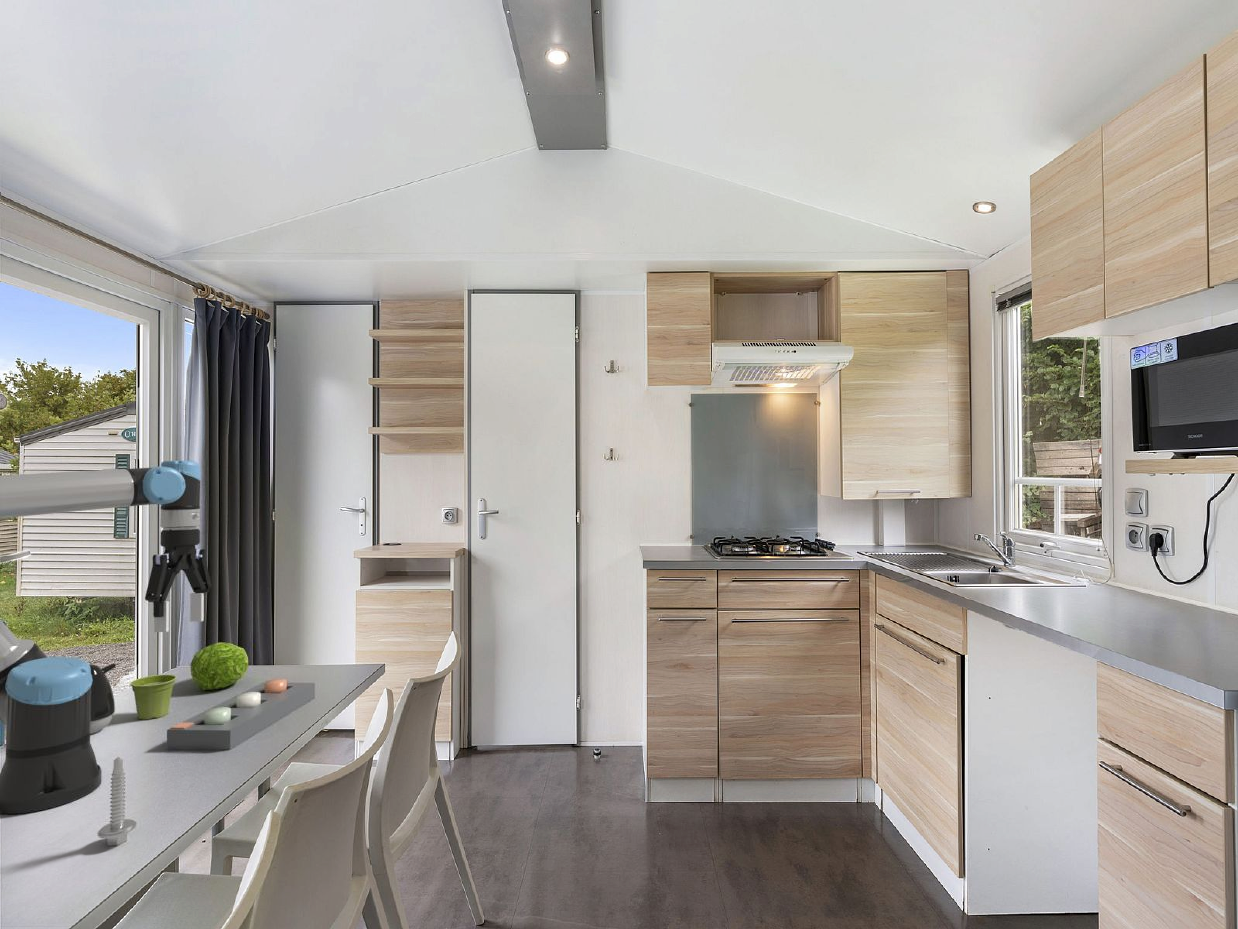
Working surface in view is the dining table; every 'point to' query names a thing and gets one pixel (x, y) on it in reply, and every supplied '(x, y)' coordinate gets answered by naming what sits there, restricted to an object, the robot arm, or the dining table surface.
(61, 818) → the dining table surface
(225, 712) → the sage button
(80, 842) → the dining table surface
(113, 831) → the screw
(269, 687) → the peach rounded knob
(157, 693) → the plant pot
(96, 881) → the dining table surface
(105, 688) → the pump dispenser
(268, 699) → the button console
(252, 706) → the cream button
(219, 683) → the lettuce
